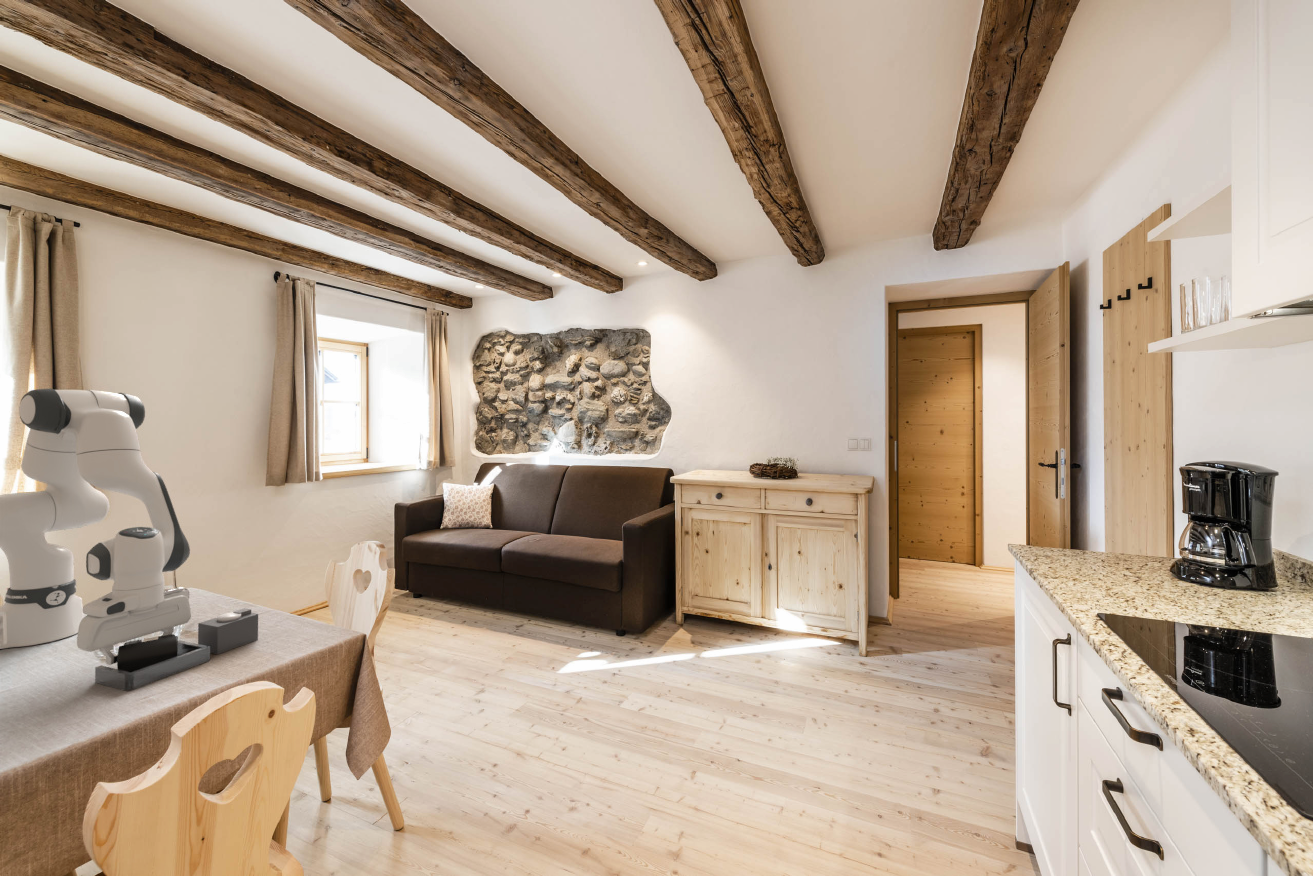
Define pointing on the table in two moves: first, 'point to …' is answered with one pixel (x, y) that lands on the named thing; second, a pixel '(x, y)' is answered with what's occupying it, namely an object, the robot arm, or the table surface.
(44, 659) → the table surface
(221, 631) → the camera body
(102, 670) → the tray
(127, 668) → the end cap
